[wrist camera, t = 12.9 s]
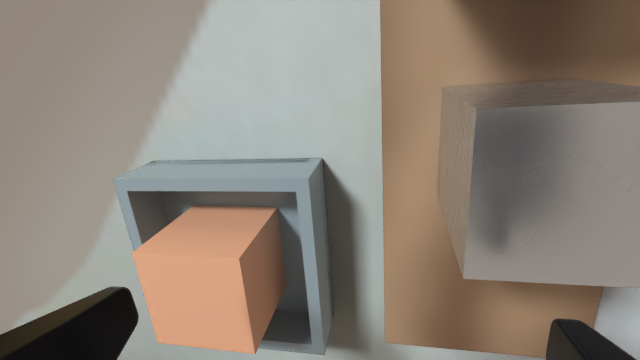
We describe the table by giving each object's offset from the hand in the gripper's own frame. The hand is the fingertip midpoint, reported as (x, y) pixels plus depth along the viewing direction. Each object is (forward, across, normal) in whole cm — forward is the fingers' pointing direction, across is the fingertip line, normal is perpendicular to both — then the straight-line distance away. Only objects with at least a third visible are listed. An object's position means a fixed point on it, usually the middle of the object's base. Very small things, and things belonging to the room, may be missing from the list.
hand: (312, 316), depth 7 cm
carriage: (+7, -5, -2) cm, 9 cm away
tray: (+8, +5, +3) cm, 10 cm away
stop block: (+7, +5, +3) cm, 9 cm away
